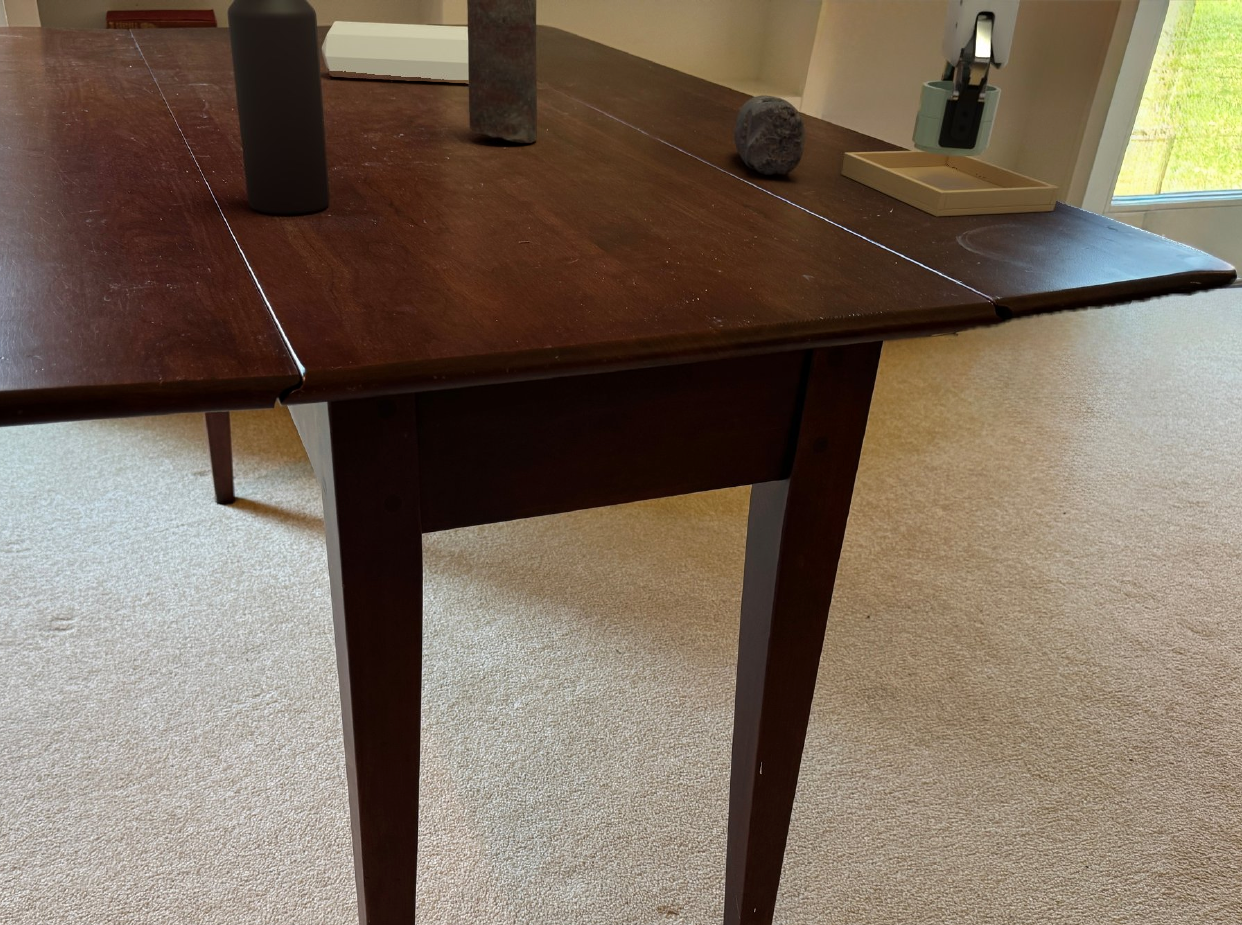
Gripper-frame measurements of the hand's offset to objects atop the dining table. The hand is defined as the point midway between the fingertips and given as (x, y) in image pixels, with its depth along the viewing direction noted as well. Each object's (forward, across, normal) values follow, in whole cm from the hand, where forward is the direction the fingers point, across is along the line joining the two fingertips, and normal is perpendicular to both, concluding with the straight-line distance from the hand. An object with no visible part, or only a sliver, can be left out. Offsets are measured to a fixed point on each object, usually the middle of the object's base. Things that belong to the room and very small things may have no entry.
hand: (951, 138), depth 104 cm
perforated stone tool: (+5, +6, +17) cm, 19 cm away
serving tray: (+5, 0, 0) cm, 5 cm away
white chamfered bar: (+6, +50, +69) cm, 85 cm away
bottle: (+5, -24, +56) cm, 61 cm away
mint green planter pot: (+1, 0, 0) cm, 1 cm away
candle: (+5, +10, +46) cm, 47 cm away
